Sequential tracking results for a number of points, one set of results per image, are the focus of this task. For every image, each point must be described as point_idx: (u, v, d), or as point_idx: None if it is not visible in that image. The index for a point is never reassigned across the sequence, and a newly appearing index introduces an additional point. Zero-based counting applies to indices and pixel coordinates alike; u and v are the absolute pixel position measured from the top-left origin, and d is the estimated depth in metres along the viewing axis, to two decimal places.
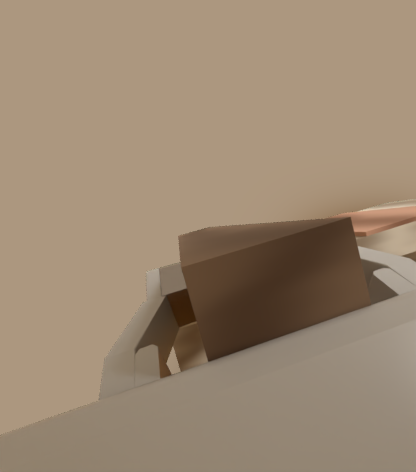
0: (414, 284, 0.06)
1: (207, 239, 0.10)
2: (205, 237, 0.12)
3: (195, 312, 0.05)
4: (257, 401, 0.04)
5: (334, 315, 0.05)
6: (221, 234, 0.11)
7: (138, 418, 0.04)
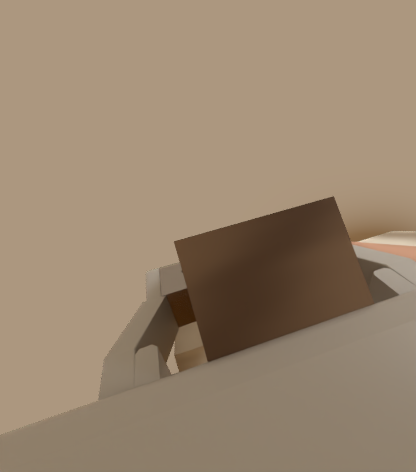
0: (414, 284, 0.06)
1: None
2: None
3: (187, 285, 0.05)
4: (257, 401, 0.04)
5: (328, 291, 0.05)
6: None
7: (138, 417, 0.04)
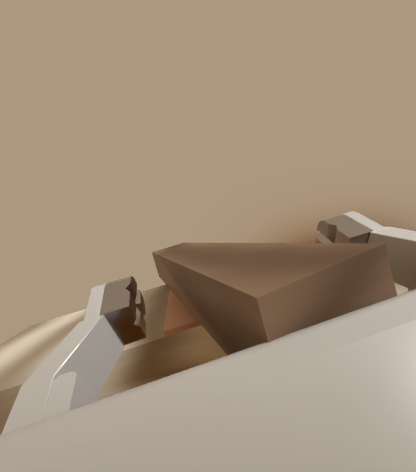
0: None
1: (218, 260, 0.10)
2: (208, 257, 0.12)
3: None
4: (257, 401, 0.04)
5: None
6: (228, 254, 0.11)
7: (139, 417, 0.04)
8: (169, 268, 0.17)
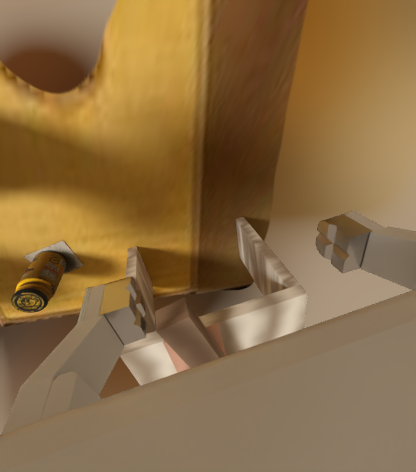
0: None
1: (197, 344, 0.29)
2: (201, 351, 0.30)
3: (187, 310, 0.27)
4: (257, 401, 0.04)
5: (162, 314, 0.27)
6: (193, 349, 0.29)
7: (139, 417, 0.04)
8: None
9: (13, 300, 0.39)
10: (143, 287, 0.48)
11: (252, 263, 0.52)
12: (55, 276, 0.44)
